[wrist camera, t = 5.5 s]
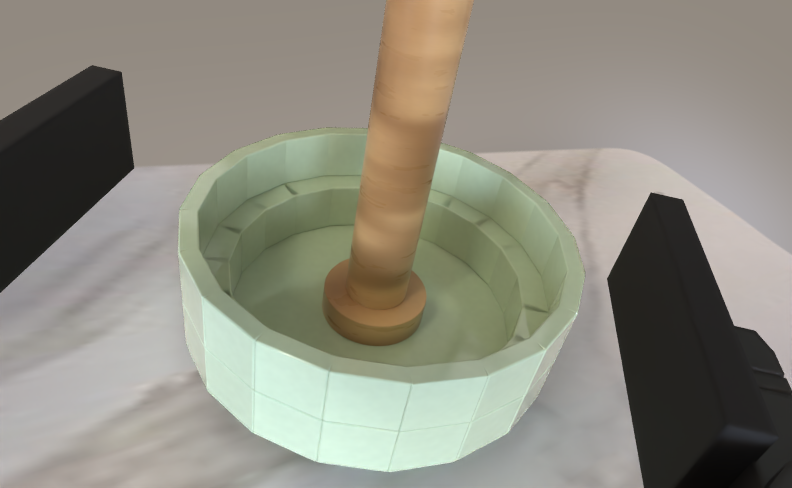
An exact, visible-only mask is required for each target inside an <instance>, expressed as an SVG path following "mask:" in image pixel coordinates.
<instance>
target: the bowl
mask: <svg viewBox="0 0 792 488" xmlns="http://www.w3.org/2000/svg"><path fill="white" fill-rule="evenodd" d="M367 132H368V128H330V127H326V128H318V129H312V130H305V131H298V132H291V133H284V134H279V135H275V136H272V137H269V138H267V139H264V140H261V141H258V142H256V143H253V144H251V145H247V146H245V147H242V148H239V149H237V150H234V151H233V152H231V153H230V154H228V155H227V156H226V157H224V158H223V159H221V160H220V161H219V162H217V163H216V164H215V165H213V166H212V167H210V168H209V169H208V170H206V171H205V172H203V173H202V174H201V175H200V176H199V178H198V179H197V181H196V183H195V184H194V186H193V187H192V189H191V191H190V192H189V194H188V196H187V197H186V199H185V201H184V202H183V204H182V205H181V207H180V209H179V210H180V211H179V227H178V260H179V271H180V282H181V293H182V305H183V317H184V328H185V339H186V346H187V348H188V350H189V352H190V354H191V356H192V359H193V361H194V363H195V365H196V367H197V369H198V372H199V374H200V376H201V378H202V380H203V382H204V385H205V387H206V389H207V390H208V392H209V393H210V394H211V395H212V396H213V397H214V398H216V399H217V400H218V401H219V402H220V403H221V404H222V405H223V406H224V407H225V408H226V409H227V410H228V411H229V412H230V413H232V414H233V415H234V416H235V417H236V418H237V419H238V420H239V421H240V422H241V423H242V424H243V425H244V426H245V427H246V428H247V429H249V430H250V431H251V432H252V433H254V434H256V435H258V436H260V437H262V438H264V439H267V440H269V441H271V442H273V443H275V444H278V445H280V446H282V447H284V448H286V449H288V450H291V451H293V452H295V453H297V454H299V455H302V456H304V457H306V458H308V459H310V460H312V461H315V462H316V461H317V462H319V463H325V464H332V465H339V466H347V467H354V468H361V469H368V470H375V471H382V472H395V471H401V470H408V469H414V468H420V467H427V466H433V465H439V464H446V463H452V462H455V461H457V460H459V459H461V458H463V457H465V456H467V455H469V454H470V453H472V452H474V451H476V450H478V449H480V448H482V447H484V446H485V445H487V444H489V443H491V442H493V441H495V440H497V439H499V438H500V437H502V436H504V435H506V434H507V433H509V431H510V430H511V429H512V428H513V426H514V425H515V424H516V423H517V422H518V420H519V419H520V418H521V417H522V415H523V414H524V413H525V412H526V410H527V409H528V408H529V407H530V405H531V404H532V403H533V402H534V401H535V399H536V398H537V397H538V395H539V393H540V391H541V388H542V386H543V384H544V382H545V380H546V378H547V376H548V374H549V372H550V370H551V368H552V366H553V364H554V362H555V360H556V358H557V356H558V354H559V351H560V349H561V347H562V345H563V343H564V341H565V339H566V337H567V335H568V333H569V331H570V329H571V327H572V325H573V323H574V321H575V319H576V317H577V315H578V311H579V305H580V300H581V295H582V290H583V285H584V280H585V271H584V267H583V264H582V261H581V257H580V254H579V251H578V248H577V244H576V241H575V238H574V236H573V234H572V233H571V232H570V231H569V229H568V228H567V227H566V225H565V224H564V223H563V221H562V220H561V219H560V217H559V216H558V215H557V214H556V212H555V211H554V210H553V208H552V207H551V206H550V204H549V203H547V201H546V200H545V199H543V198H542V197H541V196H540V195H538V194H537V193H536V192H534V191H533V190H532V189H531V188H529V187H528V186H527V185H526V184H524V183H523V182H522V181H520V180H519V179H518V178H517V177H515V176H514V175H513V174H511V173H510V172H508V171H506V170H504V169H502V168H500V167H498V166H496V165H494V164H492V163H490V162H488V161H487V160H485V159H483V158H481V157H479V156H477V155H475V154H473V153H471V152H468V151H465V150H462V149H459V148H456V147H453V146H450V145H447V144H444V143H441V145H440V150H439V154H438V158H437V163H436V167H435V171H434V176H433V180H432V184H431V189H430V193H429V197H428V202H427V206H426V210H425V215H424V219H423V223H422V228H421V232H420V236H419V241H418V245H417V249H416V254H415V258H414V262H413V267H412V271H414V272H415V273H416V274H417V275H418V277H419V278H420V279H421V281H422V282H423V284H424V286H425V289H426V294H427V299H426V304H425V308H424V312H423V316H422V319H421V323H420V325H419V327H418V329H417V330H416V331H415V333H413V334H412V335H411V336H410V337H409V338H407V339H406V340H404V341H402V342H399V343H396V344H393V345H387V346H368V345H363V344H359V343H356V342H353V341H351V340H348V339H346V338H345V337H343V336H341V335H340V334H338V333H337V332H336V331H335V330H334V329H333V328H332V327H331V326H330V325H329V324H328V322H327V321H326V319H325V316H324V314H323V310H322V300H323V292H324V283H325V279H326V277H327V275H328V273H329V272H330V270H331V269H332V268H333V267H334V266H336V265H337V264H338V263H340V262H342V261H344V260H346V259H349V258H350V251H351V244H352V237H353V230H354V223H355V216H356V209H357V202H358V195H359V188H360V181H361V174H362V167H363V160H364V153H365V146H366V139H367Z"/></svg>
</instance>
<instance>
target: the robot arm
mask: <svg viewBox="0 0 792 488" xmlns="http://www.w3.org/2000/svg"><path fill="white" fill-rule="evenodd" d="M133 169H134V163H133V155H132V148H131V140H130V132H129V125H128V117H127V110H126V102H125V95H124V87H123V79H122V72H119V71H115V70H110V69H106V68H102V67H97V66H93V65H92V66H90V67H88V68H87V69H85V70H83V71H82V72H80V73H78V74H77V75H75V76H73V77H72V78H70V79H68V80H67V81H65V82H63V83H62V84H60V85H58V86H57V87H55V88H53V89H52V90H50V91H48V92H47V93H45V94H43V95H42V96H40V97H39V98H37V99H35V100H33V101H32V102H30V103H28V104H27V105H25V106H23V107H22V108H20V109H18V110H17V111H15V112H13V113H12V114H10V115H8V116H7V117H5V118H3V119H2V120H0V293H1V292H2V291H3V290H4V289H5V288H6V287H7V286H8V285H9V284H10V283H11V282H12V281H13V280H15V279H16V278H17V277H18V276H19V275H20V274H21V273H22V272H23V271H24V270H25V269H26V268H27V267H29V266H30V265H31V264H32V263H33V262H34V261H35V260H36V259H37V258H38V257H39V256H40V255H41V254H42V253H44V252H45V251H46V250H47V249H48V248H49V247H50V246H51V245H52V244H53V243H54V242H55V241H56V240H58V239H59V238H60V237H61V236H62V235H63V234H64V233H65V232H66V231H67V230H68V229H69V228H70V227H71V226H73V225H74V224H75V223H76V222H77V221H78V220H79V219H80V218H81V217H82V216H83V215H84V214H85V213H87V212H88V211H89V210H90V209H91V208H92V207H93V206H94V205H95V204H96V203H97V202H98V201H99V200H100V199H102V198H103V197H104V196H105V195H106V194H107V193H108V192H109V191H110V190H111V189H112V188H113V187H114V186H116V185H117V184H118V183H119V182H120V181H121V180H122V179H123V178H124V177H125V176H126V175H127V174H128V173H129V172H131V171H132V170H133ZM607 280H608V286H609V292H610V297H611V303H612V309H613V314H614V320H615V326H616V331H617V337H618V343H619V348H620V354H621V360H622V365H623V371H624V377H625V382H626V388H627V394H628V399H629V405H630V411H631V416H632V422H633V428H634V433H635V439H636V445H637V451H638V456H639V462H640V468H641V473H642V479H643V485H644V488H792V390H791V388H790V385H789V383H788V381H787V379H786V378H784V372H783V370H782V368H781V366H780V364H779V361H778V359H777V357H776V355H775V353H774V351H773V350H772V349H771V348H770V347H769V346H768V345H767V344H766V342H765V341H764V340H763V339H762V338H761V337H760V336H759V335H758V333H757V332H756V331H754V330H749V329H745V328H741V327H737V326H734V325H733V322H732V320H731V317H730V315H729V312H728V310H727V307H726V305H725V302H724V300H723V297H722V295H721V292H720V290H719V287H718V285H717V283H716V280H715V278H714V275H713V273H712V270H711V268H710V265H709V263H708V260H707V258H706V255H705V253H704V250H703V248H702V245H701V243H700V240H699V238H698V236H697V233H696V231H695V228H694V226H693V223H692V221H691V218H690V216H689V213H688V211H687V208H686V206H685V203H684V201H683V200H682V199H677V198H673V197H669V196H664V195H660V194H655V193H650V195H649V197H648V199H647V201H646V203H645V205H644V207H643V209H642V211H641V213H640V215H639V217H638V219H637V221H636V223H635V225H634V227H633V229H632V231H631V233H630V235H629V237H628V239H627V241H626V243H625V245H624V247H623V249H622V251H621V253H620V255H619V257H618V259H617V260H616V262H615V264H614V266H613V268H612V270H611V272H610V274H609V276H608V278H607Z"/></svg>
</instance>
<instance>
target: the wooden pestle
mask: <svg viewBox="0 0 792 488" xmlns="http://www.w3.org/2000/svg"><path fill="white" fill-rule="evenodd" d="M473 2H474V0H386V6H385V13H384V20H383V27H382V34H381V41H380V48H379V55H378V62H377V69H376V76H375V83H374V90H373V97H372V104H371V111H370V118H369V125H368V132H367V139H366V146H365V153H364V160H363V167H362V174H361V181H360V188H359V195H358V202H357V209H356V216H355V223H354V230H353V237H352V244H351V251H350V258H349V259H346V260H344V261H342V262H340V263H338V264H337V265H336V266H334V267H333V268H332V269H331V270H330V272H329V273H328V275H327V277H326V279H325V283H324V292H323V300H322V310H323V314H324V316H325V319H326V321H327V322H328V324H329V325H330V326H331V327H332V328H333V329H334V330H335V331H336V332H337V333H338V334H340V335H341V336H343V337H345V338H346V339H348V340H351V341H353V342H356V343H359V344H363V345H368V346H387V345H393V344H396V343H399V342H402V341H404V340H406V339H407V338H409V337H410V336H411V335H412V334H413V333H415V331H416V330H417V329H418V327H419V325H420V323H421V319H422V316H423V312H424V308H425V304H426V299H427V294H426V289H425V286H424V284H423V282H422V281H421V279H420V278H419V277H418V275H417V274H416V273H415V272H414V271H412V267H413V262H414V258H415V254H416V249H417V245H418V241H419V236H420V232H421V228H422V223H423V219H424V215H425V210H426V206H427V202H428V197H429V193H430V189H431V184H432V180H433V176H434V171H435V167H436V163H437V158H438V154H439V150H440V145H441V141H442V137H443V132H444V127H445V124H446V119H447V115H448V110H449V106H450V102H451V97H452V93H453V89H454V84H455V80H456V76H457V71H458V67H459V62H460V58H461V54H462V50H463V45H464V41H465V37H466V32H467V28H468V24H469V19H470V15H471V11H472V6H473Z"/></svg>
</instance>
